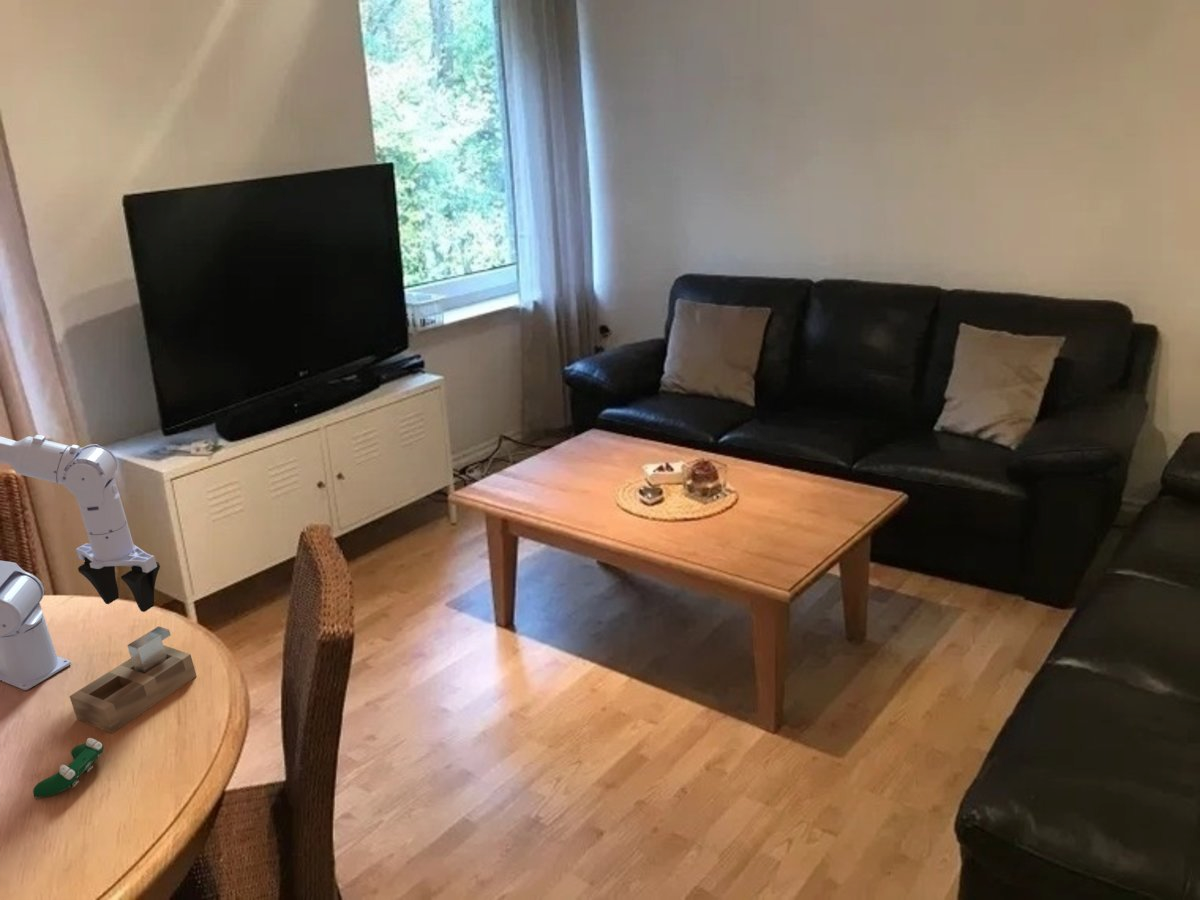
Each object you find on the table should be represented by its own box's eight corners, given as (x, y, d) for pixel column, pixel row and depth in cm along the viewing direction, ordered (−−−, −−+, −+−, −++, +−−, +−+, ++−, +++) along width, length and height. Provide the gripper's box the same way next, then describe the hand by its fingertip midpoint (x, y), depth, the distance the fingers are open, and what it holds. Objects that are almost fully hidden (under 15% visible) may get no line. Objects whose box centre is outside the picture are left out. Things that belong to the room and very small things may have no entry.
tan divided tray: (76, 719, 153) (69, 696, 152) (162, 664, 165) (156, 642, 164) (111, 733, 150) (104, 710, 148) (196, 676, 161) (190, 654, 160)
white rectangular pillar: (139, 684, 159) (127, 645, 156) (169, 665, 163) (158, 626, 160) (149, 688, 157) (137, 648, 155) (180, 668, 162) (169, 629, 159)
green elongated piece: (51, 812, 138) (70, 789, 135) (27, 794, 138) (46, 770, 135) (95, 765, 146) (114, 743, 144) (73, 748, 146) (92, 725, 143)
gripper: (50, 532, 158) (75, 610, 163) (120, 544, 152) (143, 625, 157) (89, 511, 164) (112, 588, 169) (157, 523, 158) (179, 601, 163)
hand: (129, 604), depth 163 cm, fingers open, 7 cm apart
